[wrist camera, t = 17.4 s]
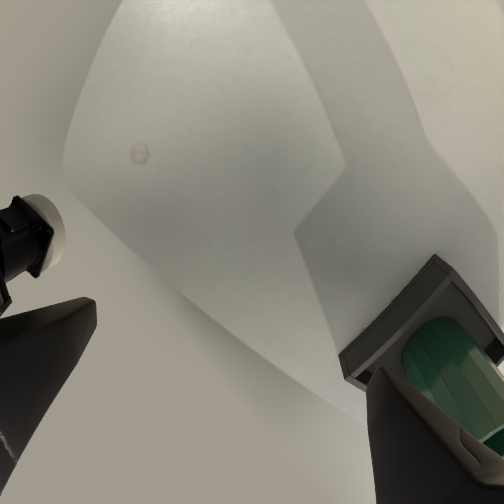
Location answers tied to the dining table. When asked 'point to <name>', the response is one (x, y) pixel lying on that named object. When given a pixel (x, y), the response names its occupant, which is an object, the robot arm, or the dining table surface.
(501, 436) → the tumbler
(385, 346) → the tray
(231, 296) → the dining table surface
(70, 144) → the dining table surface
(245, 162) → the dining table surface
